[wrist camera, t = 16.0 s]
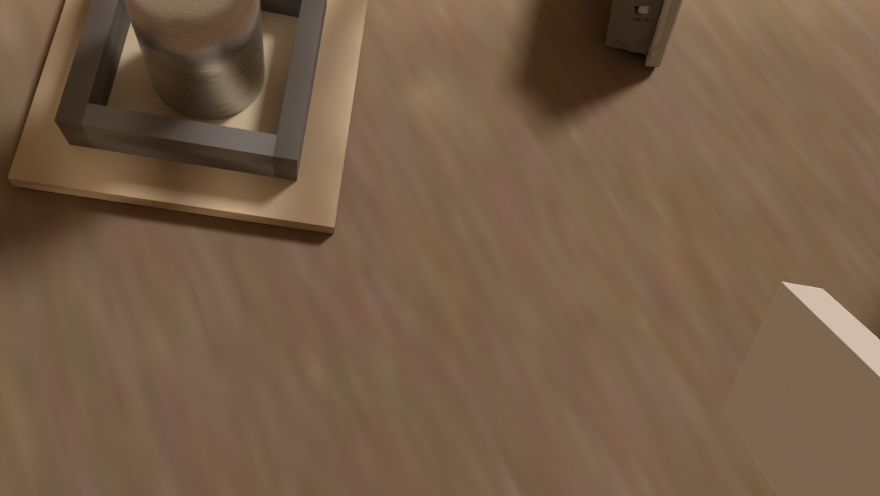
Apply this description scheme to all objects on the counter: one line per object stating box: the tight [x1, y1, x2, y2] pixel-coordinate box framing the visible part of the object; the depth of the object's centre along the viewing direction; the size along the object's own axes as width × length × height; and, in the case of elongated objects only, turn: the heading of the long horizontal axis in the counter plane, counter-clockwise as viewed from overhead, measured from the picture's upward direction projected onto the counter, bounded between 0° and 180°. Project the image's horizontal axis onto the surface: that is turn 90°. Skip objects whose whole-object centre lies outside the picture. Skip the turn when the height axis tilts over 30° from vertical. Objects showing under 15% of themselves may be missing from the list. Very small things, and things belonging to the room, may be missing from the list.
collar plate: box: [8, 0, 368, 234], centre depth 38 cm, size 16×16×4 cm
